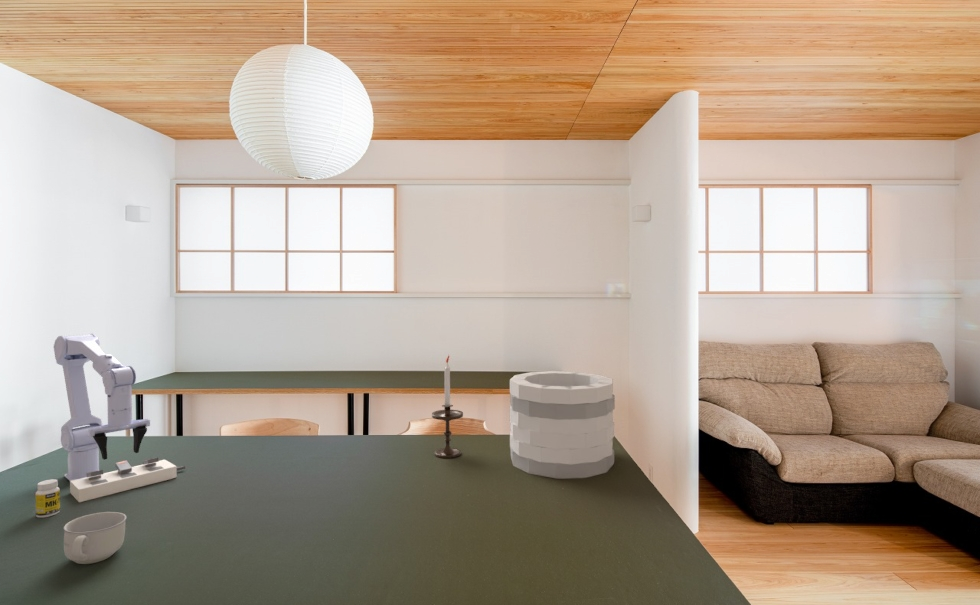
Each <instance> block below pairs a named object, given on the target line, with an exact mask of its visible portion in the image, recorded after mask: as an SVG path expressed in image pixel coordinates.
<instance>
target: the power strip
mask: <svg viewBox="0 0 980 605" xmlns="http://www.w3.org/2000/svg"><path fill="white" fill-rule="evenodd" d="M131 467H132V472H128V473H124V474H120V473H119V471H118V470H116V469H115V470H113V471H109V472H103V474H102V475H97V476H93V477H85V478H81V479H76V480H72V481H69V492H70V494H71V496H73V497H74V499H75V500H76V501H77V502H78V503H82V502H85V501H91V500H93V499H97V498H102V497H105V496H110V495H114V494H117V493H120V492H121V493H122V492H125V491H129V490H132V489H136V488H140V487H144V486H148V485H152V484H156V483H160V482H161V483H162V482H164V481H167V480H169V481H170V480H172V479H175V478H177V477H178V474H177V472H178V471H181V470H185V469H186V466H185V465H182V466H177V465H175V463H172V462H170V461H168V459H167V460H166V459H159V462H154V463H150V464H144V465H143V463H142V464H140V465H134V466H131Z"/></svg>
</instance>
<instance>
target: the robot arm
mask: <svg viewBox="0 0 980 605" xmlns="http://www.w3.org/2000/svg"><path fill="white" fill-rule="evenodd" d="M53 352H54V359H55V363H56V364H57V365H60V366H62V369H63V375H64V382H65V388H66V389H65V390H66V394H67V396H66V397H67V401H68V407H69V412H70V419H68V421H67V422H65V423H64V424H63V425H62V426H61V428H60V432H61V433H60V444H61V446H62V448H63V449H64V450H65V451H67V452H68V454H67V473H65V474H64V477H65V478H66V479H67V480H68V481H69V482H70V481H72V480H76V479H81V478H85V477H87V474H86V473H89V472H93V471H99V470H100V459H99V458H100V455H99V454H101V458H102V459H103V460H107V459H108V450H107V449H108V445H107V444H108V436H107V434H109V433H114V432H115V433H116V432H121V431H127V430H132V434H133V453H135V454H139V452H140V447H141V443H142V441H143V439H144V437H145V435H146V434H147V431H148V428H147V427H150V426H151V420H150V419H149V418H144V419H136V420H135V419H133V401H132V400H133V398H132V391H133V390H132V386H134V385H135V384H136V380H137V373H136V371H135V369H134V368H133V366H132V365H123V364H122V363H121V362H120V361H119V360H117V358H116V357H114V355H112V354H111V353H105V351H103V350H102V348H101V347H100V340H99V337H98V336H97V335H96V334H95V333H88V334H75V335H59V336H57V337H56V339H55V340H54V344H53ZM90 361H91V362H92V369H93V370H95V372H96V373H98V375H99V376H100V377H101V378H102V380H101V381H102V384H103V387H104V393H105V395H106V397H107V423H106V424H103V422H102V418H100V417H98V416H95V415H93V414H92V411H91V405H90V400H89V394H88V387H87V382H86V376H85V371H84V370H85V368H84V366H85V364H86V363H88V362H90ZM99 450H100V452H99Z"/></svg>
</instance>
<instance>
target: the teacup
mask: <svg viewBox="0 0 980 605" xmlns="http://www.w3.org/2000/svg"><path fill="white" fill-rule="evenodd" d="M126 521H127V515H126V514H125V513H123V512H117V511H103V512H97V513H90V514H86V515H82V516H79V517H77V518H74V519H72V520H70V521H69V522H66V523H65V525H64V526H63V532H64V534H63V551H64V555H65V557H66V559H68V560H70V561H72V562H74V563H75V564H80V565H90V564H96V563H99V562H102V561H104V560H106V559H109V558H111V556H113V555H114V554H115V553H116V552H118V551H119V549H120V548H121V547H122V546H123V544H124V541H125V534H126Z"/></svg>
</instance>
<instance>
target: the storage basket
mask: <svg viewBox="0 0 980 605" xmlns="http://www.w3.org/2000/svg"><path fill="white" fill-rule="evenodd" d="M512 376H513V377H511V378H510V379H509V394H510V396H509V397H510V401H509V402H510V406H509V428H510V429H509V431H510V432H509V448H510V459H511V463H512V464H511V465H512V466H513V467H515V468H517V469H519V470H521V471H523V472H525V473H527V474H529V475H535V476H541V477H547V478H551V479H552V478H553V479H587V478H590V477H594V476H598V475H601V474H605V473H608V471H609V470H610V469H611V468H612V467H613V465H614V464H615V449H614V447H613V442H614V441H613V440H614V437H615V422H614V410H615V407H616V406H615V403H616V402H615V401H616V400H615V398H616V397H615V394H613V392H614V390H613V389H614V385H613V384H614V382H613V381H614V379H613V378H610V377H607V376H605V375H601V374H596V373H589V372H588V373H587V372H581V371H563V370H562V371H561V370H559V371H558V370H557V371H556V370H549V371H548V370H546V371H530V372H525V373H520V374H515V375H512Z"/></svg>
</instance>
